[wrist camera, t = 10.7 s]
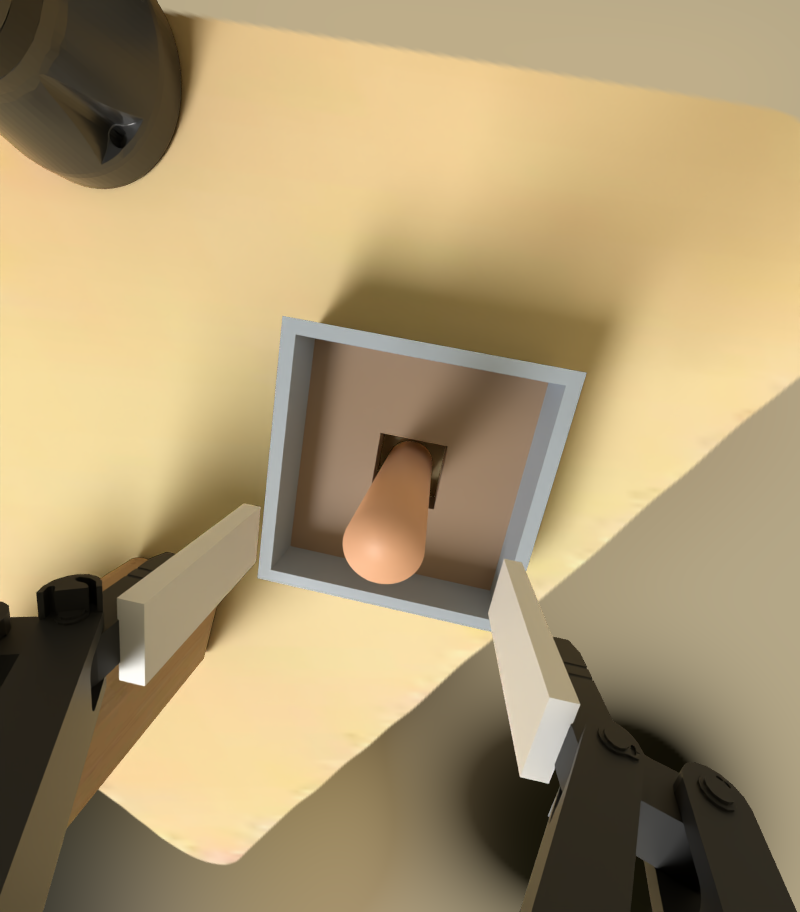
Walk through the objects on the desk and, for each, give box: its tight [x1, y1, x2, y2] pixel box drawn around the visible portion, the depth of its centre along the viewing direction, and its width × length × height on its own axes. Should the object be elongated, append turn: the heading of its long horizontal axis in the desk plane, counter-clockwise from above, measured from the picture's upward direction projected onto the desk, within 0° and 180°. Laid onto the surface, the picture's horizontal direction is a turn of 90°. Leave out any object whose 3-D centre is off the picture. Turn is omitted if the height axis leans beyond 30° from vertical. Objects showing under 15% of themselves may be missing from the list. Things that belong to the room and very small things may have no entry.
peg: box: [343, 441, 432, 584], centre depth 26 cm, size 4×4×16 cm
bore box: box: [258, 316, 586, 632], centre depth 30 cm, size 20×20×7 cm
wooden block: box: [67, 558, 217, 827], centre depth 30 cm, size 10×10×20 cm
